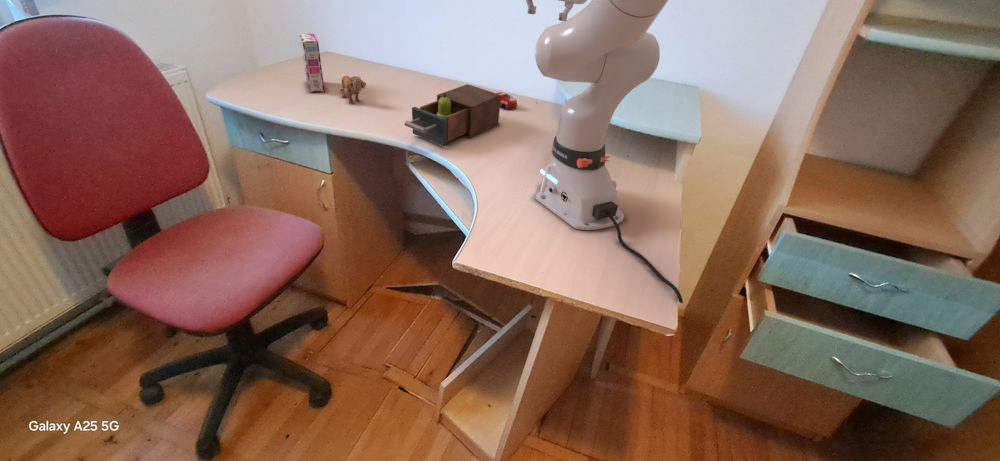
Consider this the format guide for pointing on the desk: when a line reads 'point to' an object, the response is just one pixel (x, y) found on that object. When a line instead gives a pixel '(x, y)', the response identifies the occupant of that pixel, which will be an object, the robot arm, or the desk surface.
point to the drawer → (439, 123)
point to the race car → (507, 101)
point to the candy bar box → (312, 62)
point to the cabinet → (476, 107)
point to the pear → (444, 107)
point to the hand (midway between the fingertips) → (546, 17)
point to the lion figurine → (352, 87)
